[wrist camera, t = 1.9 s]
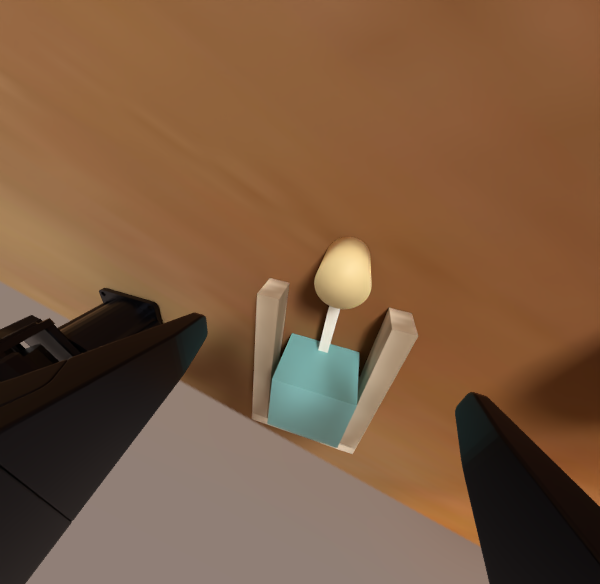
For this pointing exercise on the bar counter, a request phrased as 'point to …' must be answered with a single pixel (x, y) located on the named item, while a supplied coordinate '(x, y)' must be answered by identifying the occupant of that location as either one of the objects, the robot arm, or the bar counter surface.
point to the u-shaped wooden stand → (374, 377)
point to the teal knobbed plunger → (323, 354)
